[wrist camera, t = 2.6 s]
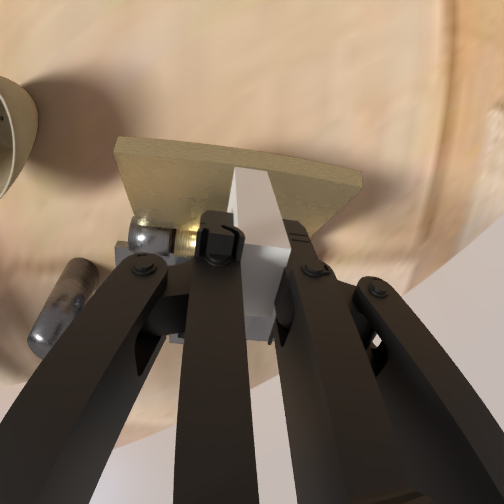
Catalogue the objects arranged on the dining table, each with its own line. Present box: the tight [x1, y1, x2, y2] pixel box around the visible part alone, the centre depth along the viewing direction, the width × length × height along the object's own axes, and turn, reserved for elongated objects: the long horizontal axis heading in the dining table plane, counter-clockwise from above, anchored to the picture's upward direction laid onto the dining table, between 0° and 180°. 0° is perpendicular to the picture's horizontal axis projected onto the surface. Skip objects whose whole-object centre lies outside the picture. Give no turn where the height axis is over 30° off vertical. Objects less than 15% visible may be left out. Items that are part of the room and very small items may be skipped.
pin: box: [27, 258, 99, 359], centre depth 25 cm, size 4×4×10 cm
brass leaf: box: [113, 136, 363, 258], centre depth 22 cm, size 13×13×3 cm
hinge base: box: [115, 216, 276, 344], centre depth 29 cm, size 18×13×4 cm
